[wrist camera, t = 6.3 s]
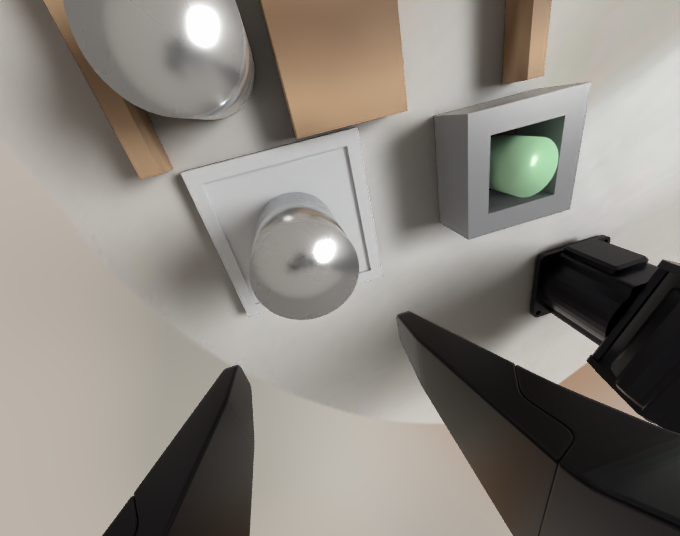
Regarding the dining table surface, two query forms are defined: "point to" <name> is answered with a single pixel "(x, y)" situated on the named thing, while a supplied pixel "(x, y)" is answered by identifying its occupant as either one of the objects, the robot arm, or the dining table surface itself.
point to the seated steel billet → (168, 53)
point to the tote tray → (278, 178)
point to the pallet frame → (323, 66)
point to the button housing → (474, 157)
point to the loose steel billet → (301, 258)
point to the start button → (521, 164)
